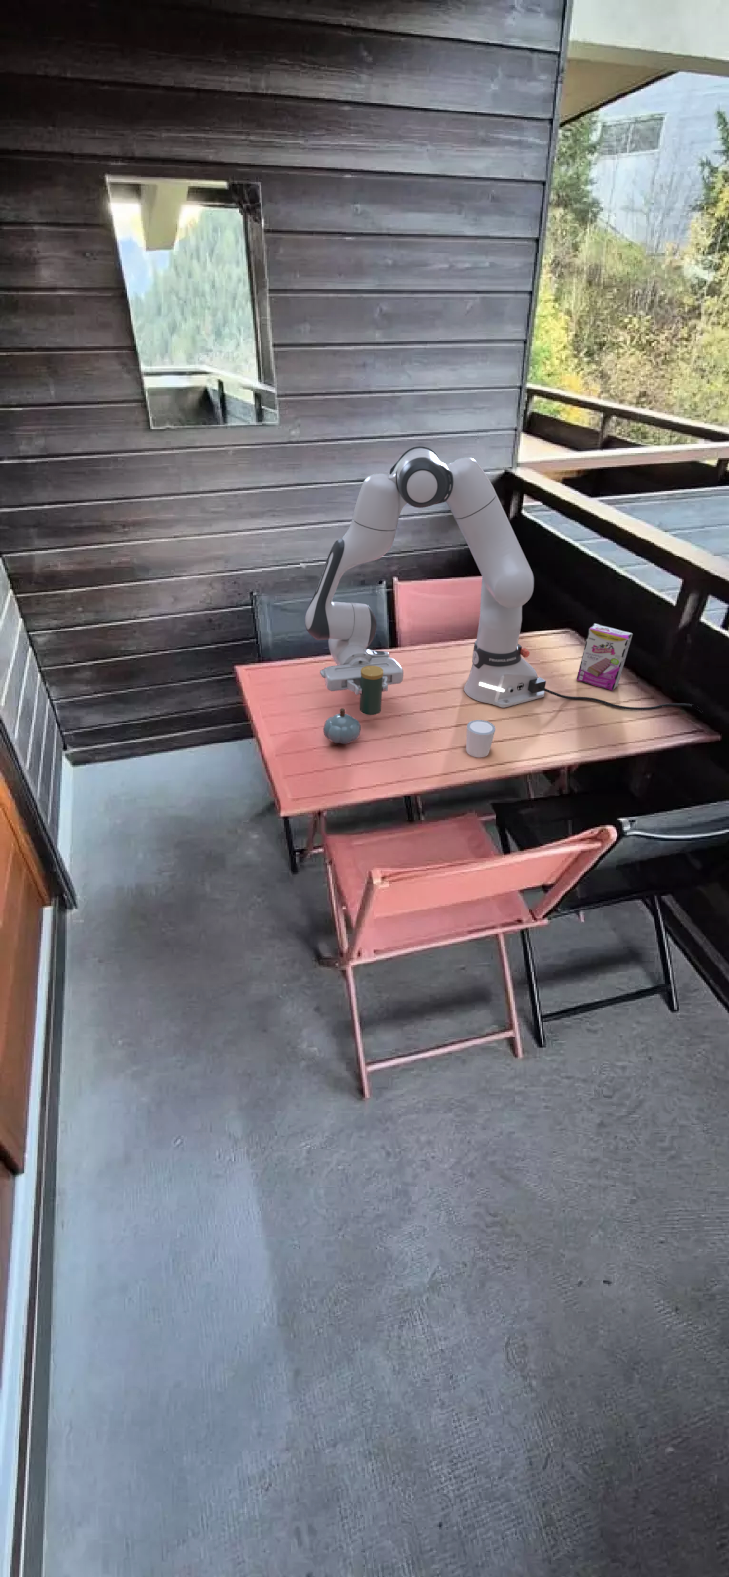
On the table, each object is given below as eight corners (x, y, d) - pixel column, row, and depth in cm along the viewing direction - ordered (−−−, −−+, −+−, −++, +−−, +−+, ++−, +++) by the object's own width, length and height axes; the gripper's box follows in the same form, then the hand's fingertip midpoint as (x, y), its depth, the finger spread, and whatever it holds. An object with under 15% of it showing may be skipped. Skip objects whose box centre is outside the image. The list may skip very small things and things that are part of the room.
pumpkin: (354, 728, 179) (355, 697, 174) (365, 747, 172) (366, 716, 166) (319, 732, 176) (318, 702, 171) (328, 753, 169) (328, 721, 164)
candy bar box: (575, 681, 203) (588, 628, 194) (581, 674, 207) (593, 622, 197) (613, 692, 199) (628, 638, 189) (618, 685, 202) (633, 632, 192)
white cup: (490, 760, 169) (494, 736, 165) (462, 756, 170) (465, 732, 166) (492, 745, 174) (496, 721, 170) (464, 741, 175) (468, 717, 171)
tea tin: (377, 703, 180) (379, 664, 174) (384, 713, 176) (386, 674, 169) (356, 705, 179) (357, 666, 172) (362, 716, 175) (364, 677, 168)
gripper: (318, 658, 179) (332, 683, 169) (393, 650, 184) (411, 674, 174) (318, 680, 183) (331, 706, 172) (391, 672, 188) (409, 697, 178)
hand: (372, 690), depth 173 cm, fingers closed on tea tin, 5 cm apart
